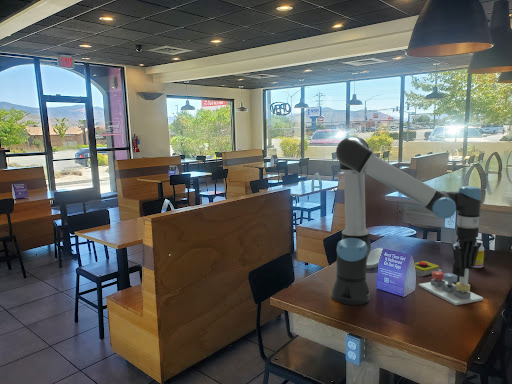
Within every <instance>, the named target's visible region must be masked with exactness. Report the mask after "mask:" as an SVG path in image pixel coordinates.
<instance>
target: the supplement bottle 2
mask: <svg viewBox="0 0 512 384" xmlns="http://www.w3.org/2000/svg"><path fill="white" fill-rule="evenodd" d="M477 242H480V243H481V246H480V248H479V250H478V254H477V258H476V262H475V265H474V266H472V268H475V269H481V268H483V267H484V259H485V247H484V246H483V241H482V240H480V239H479V240H478V239H477ZM471 263H472V262H471Z"/></svg>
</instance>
